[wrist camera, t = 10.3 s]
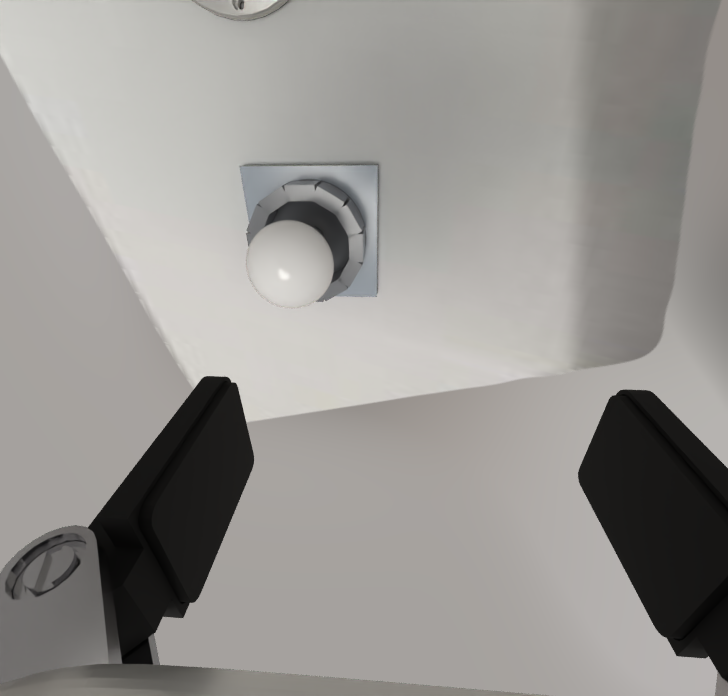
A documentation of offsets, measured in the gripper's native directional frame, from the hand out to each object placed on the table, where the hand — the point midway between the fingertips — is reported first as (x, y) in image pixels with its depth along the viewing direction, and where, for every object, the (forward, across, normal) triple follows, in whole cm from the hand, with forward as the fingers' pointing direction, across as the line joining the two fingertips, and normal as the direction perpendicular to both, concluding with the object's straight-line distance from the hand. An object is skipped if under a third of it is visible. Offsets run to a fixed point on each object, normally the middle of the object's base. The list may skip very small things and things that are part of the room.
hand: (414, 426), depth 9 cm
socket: (+28, +8, +2) cm, 29 cm away
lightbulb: (+27, +8, +2) cm, 28 cm away
